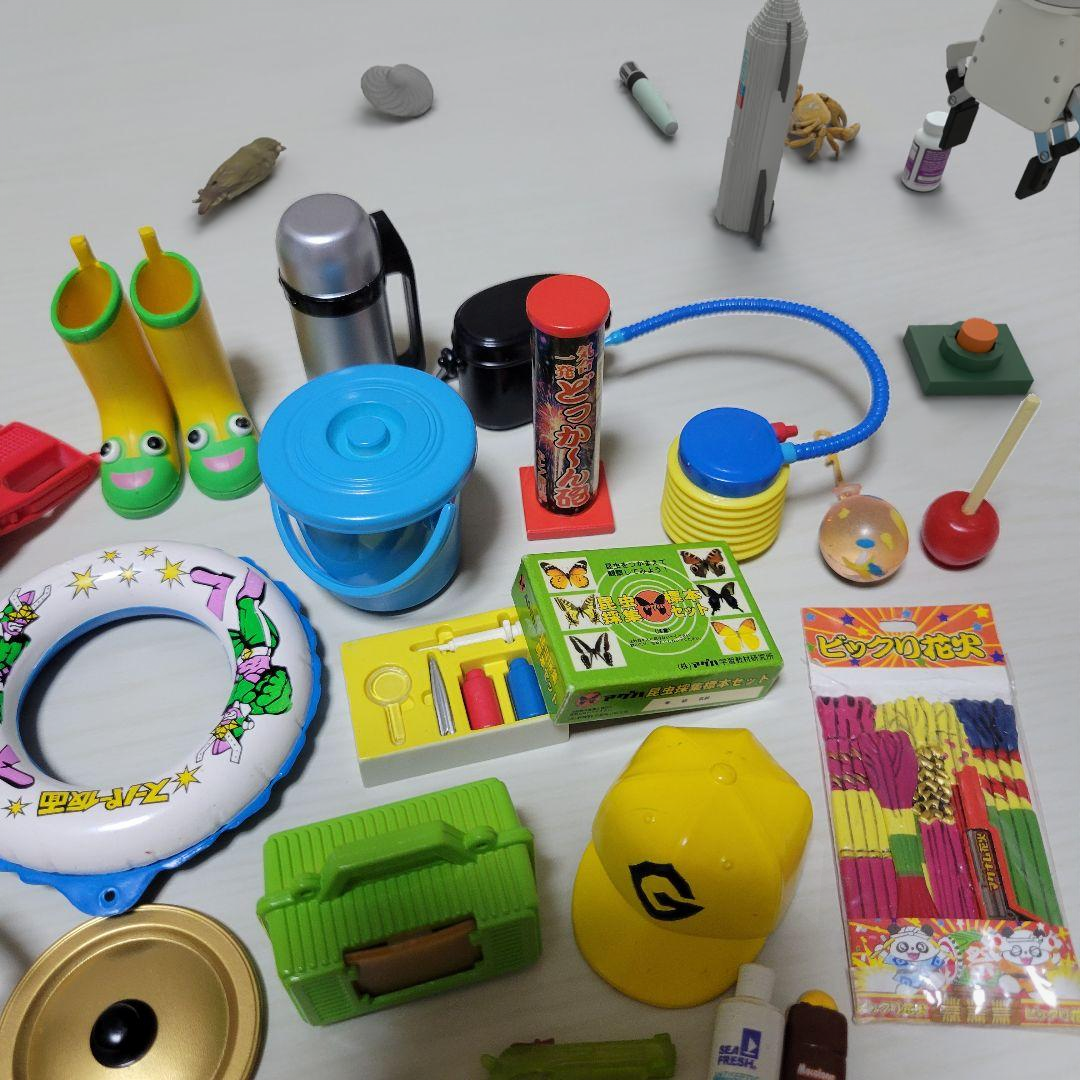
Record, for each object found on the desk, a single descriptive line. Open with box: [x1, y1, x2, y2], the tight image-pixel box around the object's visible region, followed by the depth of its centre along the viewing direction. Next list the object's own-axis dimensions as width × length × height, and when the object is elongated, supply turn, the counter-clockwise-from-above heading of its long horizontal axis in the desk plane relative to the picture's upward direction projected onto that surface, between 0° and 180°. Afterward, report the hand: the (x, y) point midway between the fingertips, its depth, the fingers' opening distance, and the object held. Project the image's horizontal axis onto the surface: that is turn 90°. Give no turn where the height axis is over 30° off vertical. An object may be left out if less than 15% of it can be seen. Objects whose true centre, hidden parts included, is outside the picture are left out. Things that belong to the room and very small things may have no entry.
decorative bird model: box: [191, 136, 287, 216], centre depth 135 cm, size 5×20×5 cm, turn 151°
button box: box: [903, 320, 1035, 397], centre depth 112 cm, size 12×10×4 cm
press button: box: [956, 317, 998, 353], centre depth 110 cm, size 4×4×2 cm
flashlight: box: [618, 60, 679, 137], centre depth 149 cm, size 3×4×20 cm
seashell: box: [360, 63, 434, 119], centre depth 149 cm, size 12×6×10 cm
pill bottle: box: [901, 110, 953, 192], centre depth 133 cm, size 5×5×10 cm
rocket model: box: [714, 0, 809, 248], centre depth 120 cm, size 14×7×30 cm, turn 11°
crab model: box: [784, 82, 861, 161], centre depth 143 cm, size 16×13×6 cm
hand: (988, 169), depth 90 cm, fingers open, 9 cm apart
